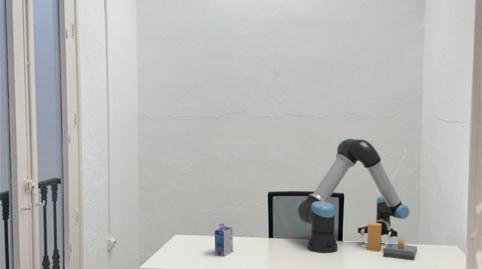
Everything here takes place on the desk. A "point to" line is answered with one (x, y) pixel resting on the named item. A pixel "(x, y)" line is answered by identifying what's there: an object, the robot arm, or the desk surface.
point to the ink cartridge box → (223, 240)
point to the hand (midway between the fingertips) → (375, 235)
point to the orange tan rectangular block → (374, 236)
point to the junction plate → (400, 250)
